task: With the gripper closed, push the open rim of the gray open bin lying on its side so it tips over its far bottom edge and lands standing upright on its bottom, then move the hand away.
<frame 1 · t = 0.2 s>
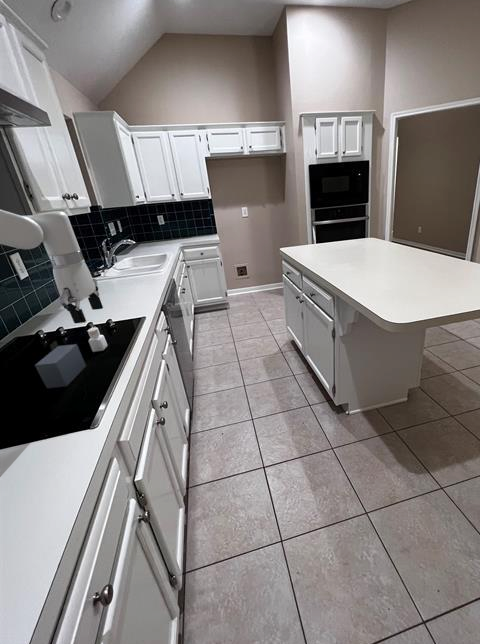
hand: (89, 315, 94), 20 cm above the counter, tool pointing down, fingers open, 9 cm apart
pepper shaker: (102, 352, 115), on the counter
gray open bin: (79, 380, 100), on the counter
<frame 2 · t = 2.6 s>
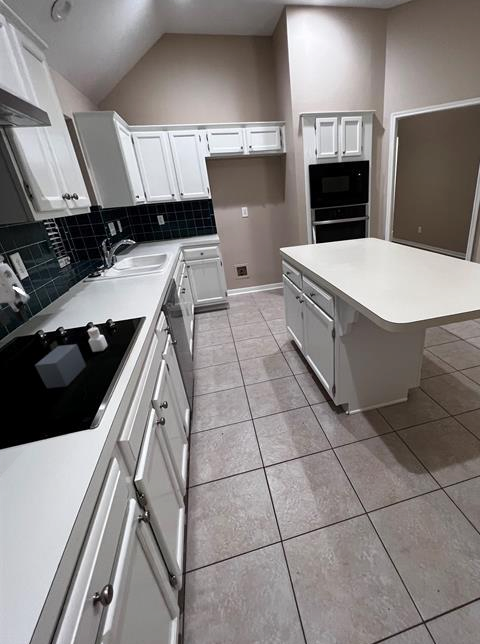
hand: (14, 323, 91), 21 cm above the counter, tool pointing down, fingers open, 4 cm apart
nothing on the counter moved.
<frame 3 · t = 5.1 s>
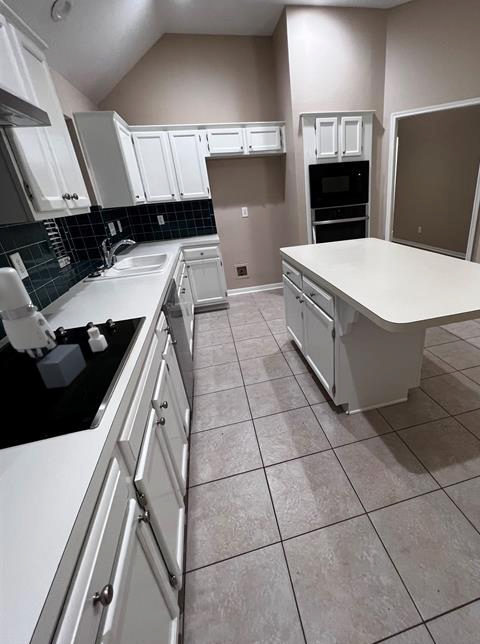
hand: (45, 365, 97), 6 cm above the counter, tool pointing down, fingers closed
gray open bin: (79, 380, 100), on the counter, touching gripper
everything else where it was.
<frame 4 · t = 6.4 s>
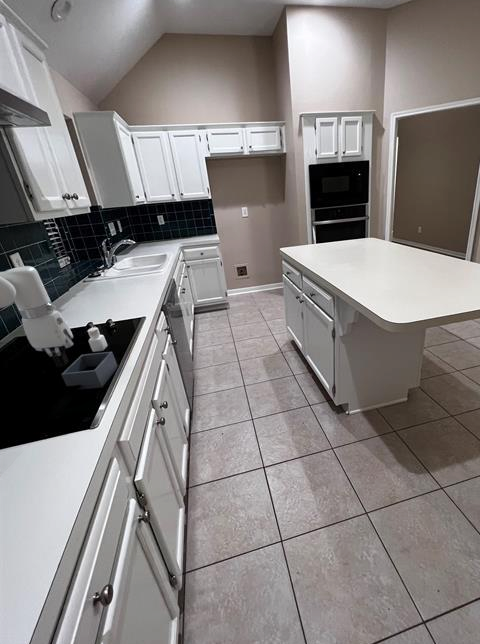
hand: (63, 364, 97), 6 cm above the counter, tool pointing down, fingers closed
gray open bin: (79, 379, 100), on the counter, tilted 90°
everything else where it was.
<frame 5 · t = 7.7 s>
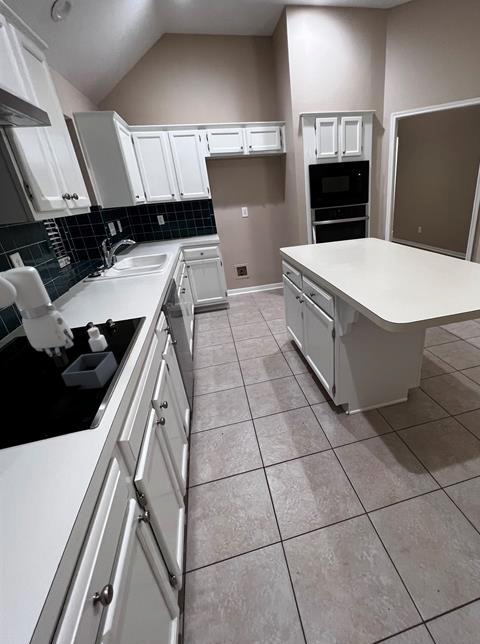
hand: (63, 364, 97), 6 cm above the counter, tool pointing down, fingers closed
nothing on the counter moved.
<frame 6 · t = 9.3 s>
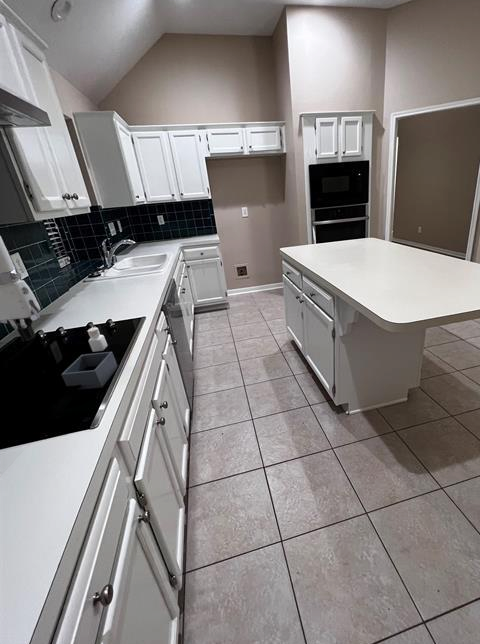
hand: (29, 338, 92), 16 cm above the counter, tool pointing down, fingers closed
nothing on the counter moved.
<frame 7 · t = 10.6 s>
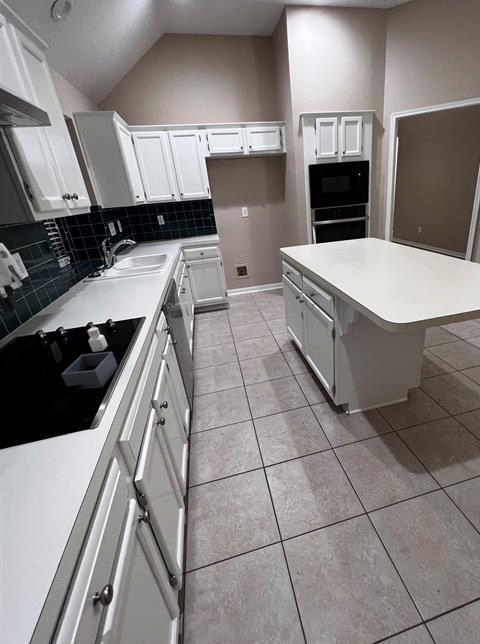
hand: (11, 310, 84), 27 cm above the counter, tool pointing down, fingers closed
nothing on the counter moved.
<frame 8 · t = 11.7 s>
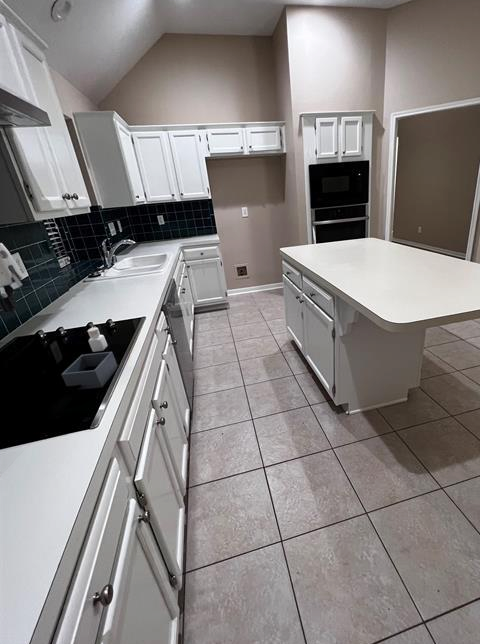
hand: (11, 310, 84), 27 cm above the counter, tool pointing down, fingers closed
nothing on the counter moved.
at the end: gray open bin tilted 90°; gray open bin inside the target area (0.5 cm from its centre), on the counter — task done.
